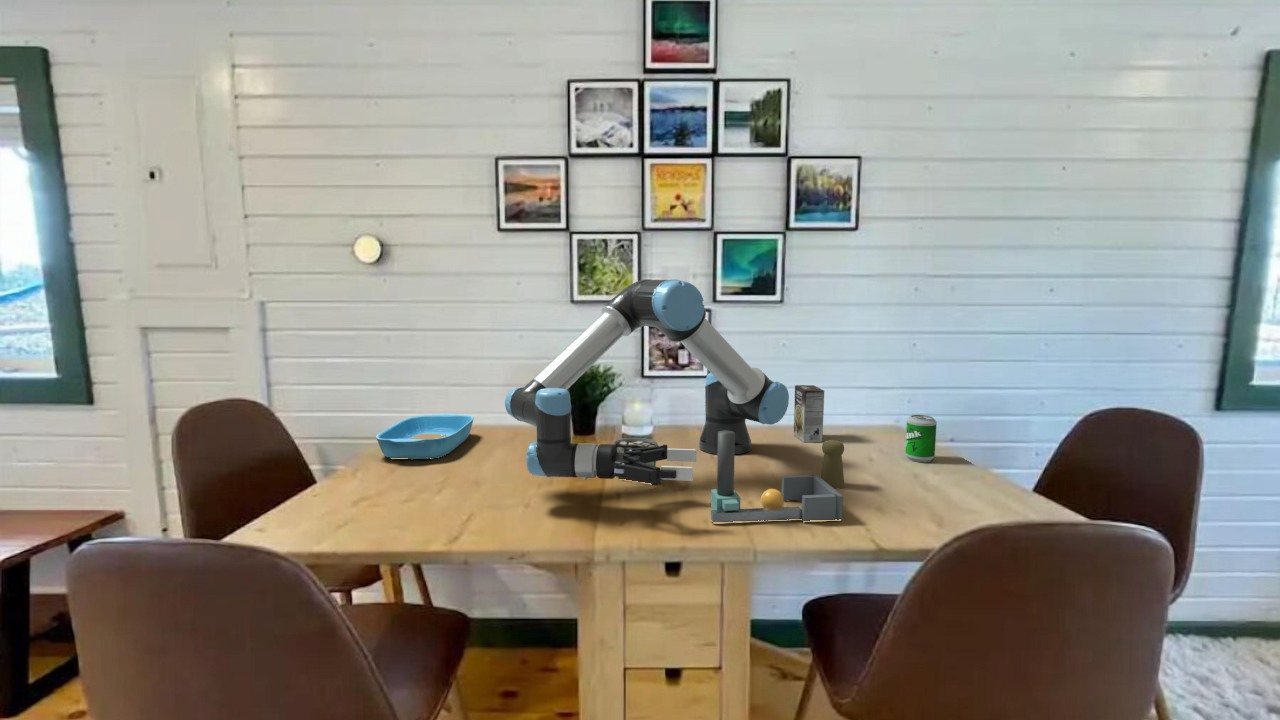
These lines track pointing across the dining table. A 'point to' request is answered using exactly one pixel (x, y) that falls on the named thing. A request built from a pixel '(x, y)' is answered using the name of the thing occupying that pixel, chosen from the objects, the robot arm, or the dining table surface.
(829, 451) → the olive pawn figure
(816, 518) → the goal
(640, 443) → the food container
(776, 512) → the rail
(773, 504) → the ball
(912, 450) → the soda can
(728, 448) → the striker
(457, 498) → the dining table surface
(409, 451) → the casserole dish
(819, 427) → the coffee box
